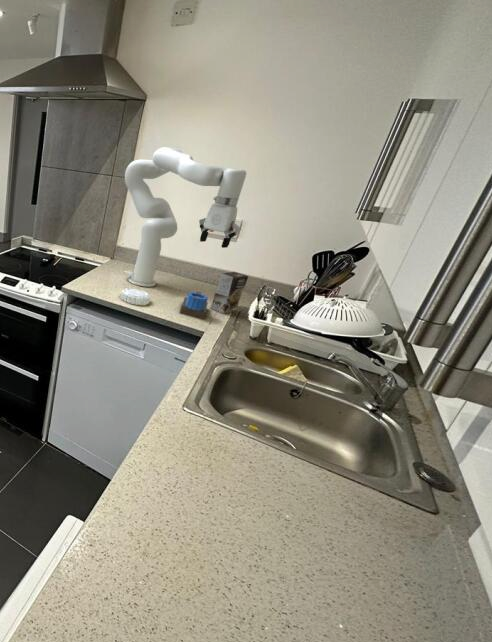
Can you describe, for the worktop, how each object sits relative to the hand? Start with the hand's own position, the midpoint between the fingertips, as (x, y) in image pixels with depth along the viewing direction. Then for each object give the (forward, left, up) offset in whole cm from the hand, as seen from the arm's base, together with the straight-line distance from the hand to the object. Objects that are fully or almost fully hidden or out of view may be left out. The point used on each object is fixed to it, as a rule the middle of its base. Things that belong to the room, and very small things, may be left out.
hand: (213, 244), depth 161 cm
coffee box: (+11, +3, -27) cm, 30 cm away
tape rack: (0, -8, -27) cm, 28 cm away
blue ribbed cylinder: (0, -12, -24) cm, 27 cm away
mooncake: (-23, -13, -27) cm, 38 cm away
